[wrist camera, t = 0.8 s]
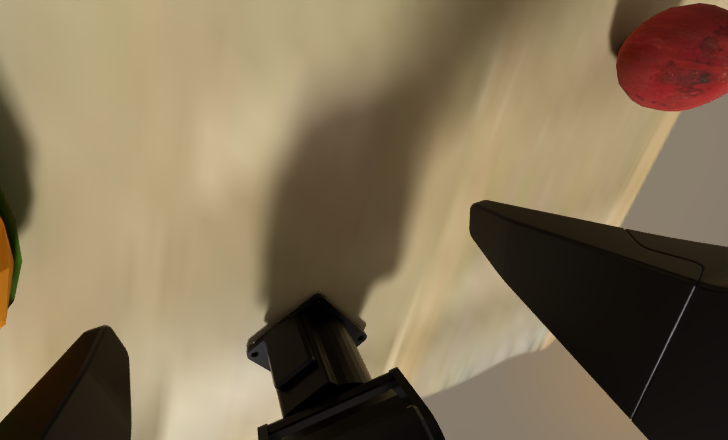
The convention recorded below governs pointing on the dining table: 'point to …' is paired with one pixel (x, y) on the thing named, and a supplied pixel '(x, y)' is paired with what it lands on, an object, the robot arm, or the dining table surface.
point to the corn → (8, 258)
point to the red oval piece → (676, 58)
